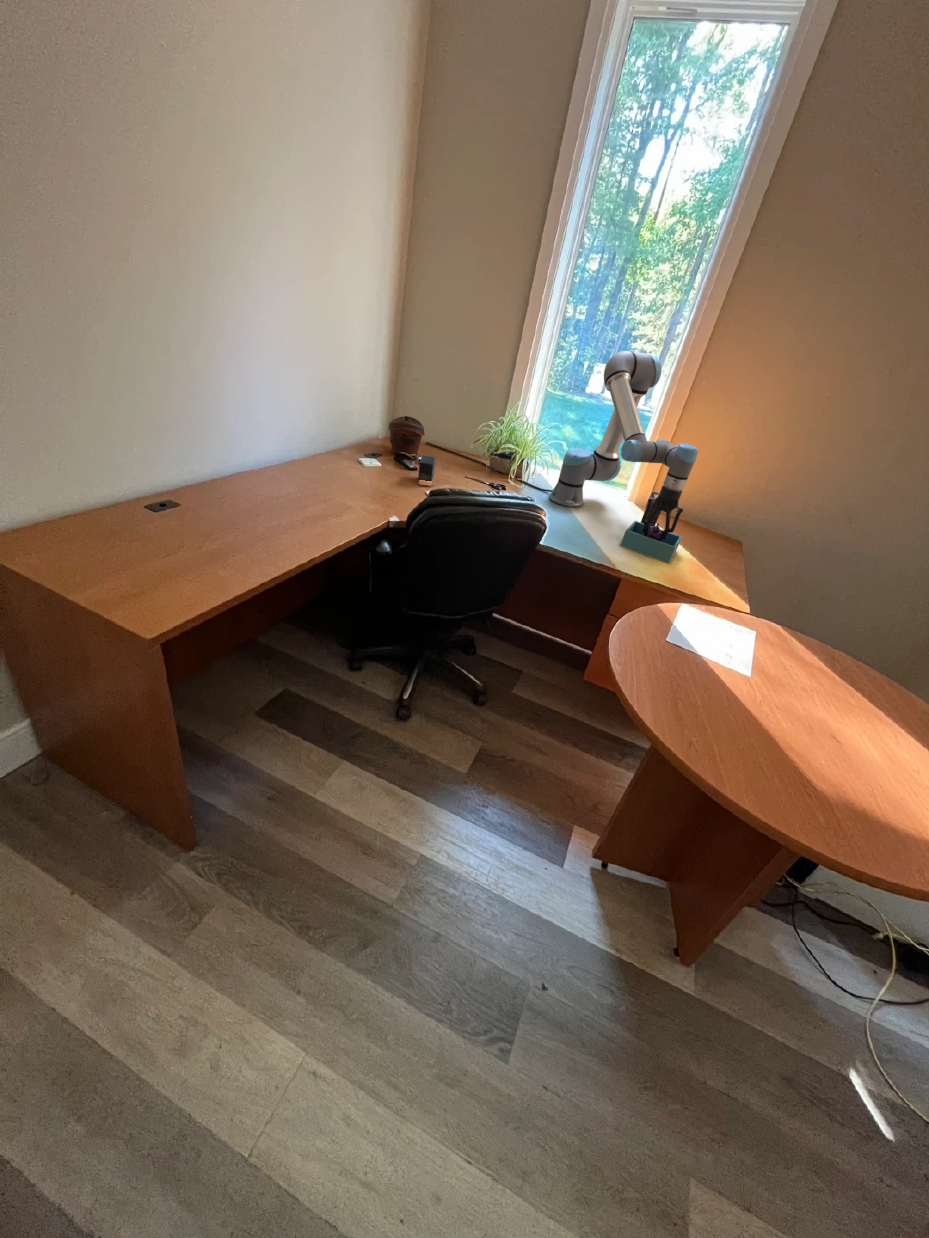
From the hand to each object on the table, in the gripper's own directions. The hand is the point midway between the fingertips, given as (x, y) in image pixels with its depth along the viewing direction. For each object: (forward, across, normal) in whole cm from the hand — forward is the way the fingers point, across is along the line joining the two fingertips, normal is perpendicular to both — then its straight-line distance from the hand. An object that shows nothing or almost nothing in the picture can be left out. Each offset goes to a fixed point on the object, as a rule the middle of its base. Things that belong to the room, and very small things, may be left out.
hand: (650, 543), depth 197 cm
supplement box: (+3, -6, +19) cm, 20 cm away
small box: (+3, -101, -15) cm, 102 cm away
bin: (+3, 0, 0) cm, 3 cm away
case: (+2, -131, +9) cm, 132 cm away
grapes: (+2, 0, 0) cm, 2 cm away
